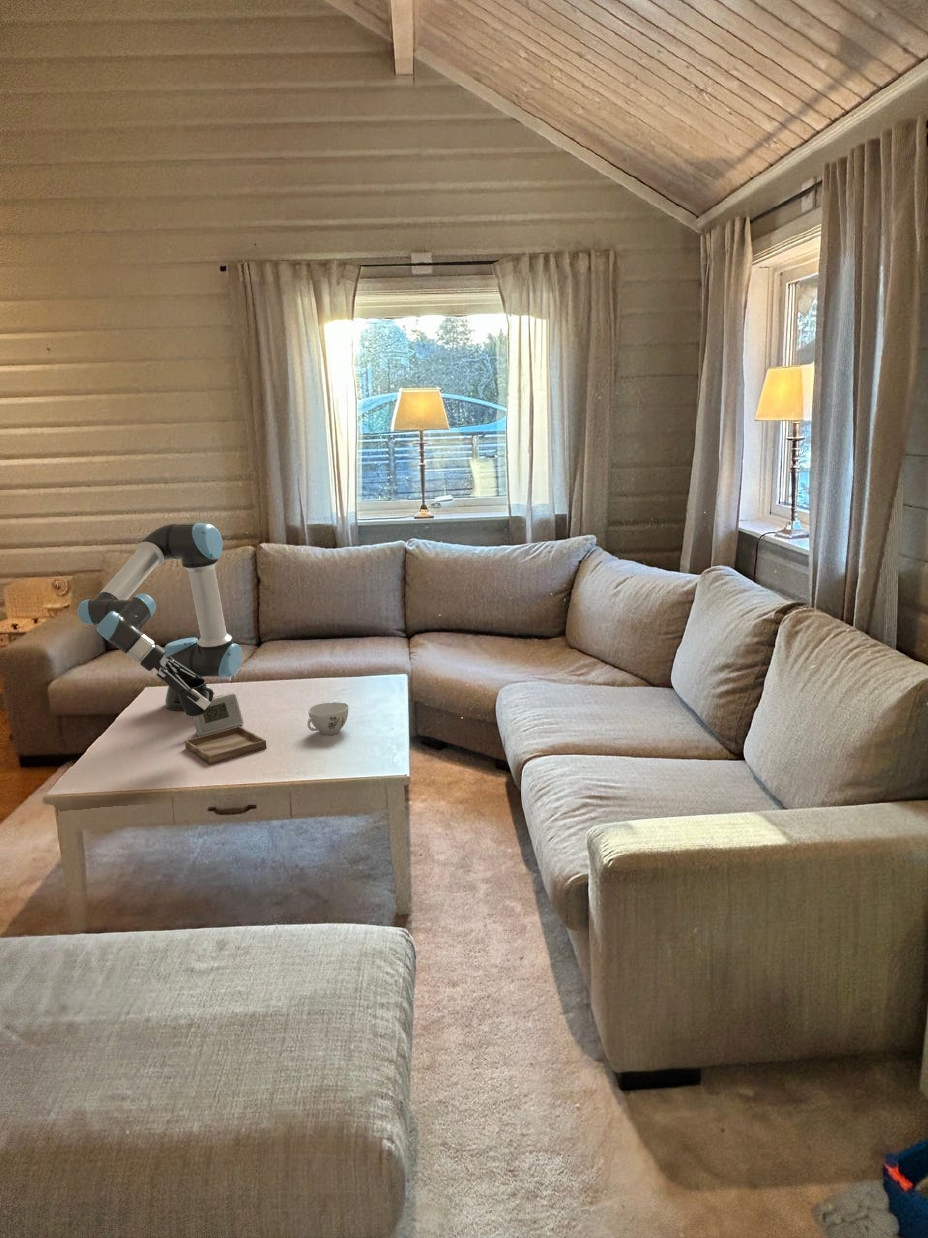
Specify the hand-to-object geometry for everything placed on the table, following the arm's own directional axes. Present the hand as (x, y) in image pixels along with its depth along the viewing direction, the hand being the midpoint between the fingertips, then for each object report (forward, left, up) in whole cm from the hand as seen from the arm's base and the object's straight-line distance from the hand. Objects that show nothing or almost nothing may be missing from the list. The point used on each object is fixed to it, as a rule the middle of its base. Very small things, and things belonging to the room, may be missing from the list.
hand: (210, 701), depth 262 cm
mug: (-2, -3, -4) cm, 5 cm away
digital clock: (-19, +9, -17) cm, 27 cm away
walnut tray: (-1, +4, -16) cm, 17 cm away
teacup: (+10, +33, -17) cm, 38 cm away
